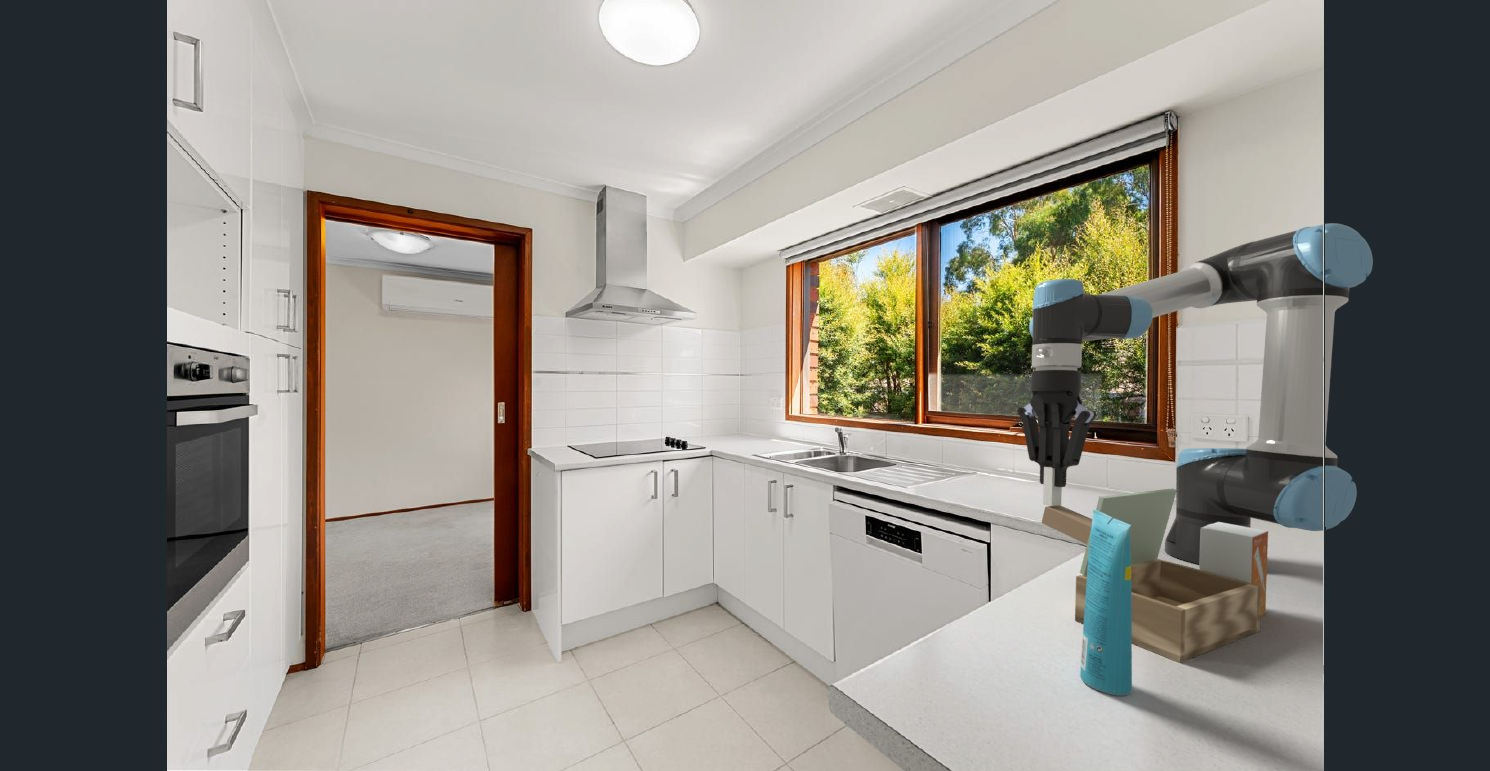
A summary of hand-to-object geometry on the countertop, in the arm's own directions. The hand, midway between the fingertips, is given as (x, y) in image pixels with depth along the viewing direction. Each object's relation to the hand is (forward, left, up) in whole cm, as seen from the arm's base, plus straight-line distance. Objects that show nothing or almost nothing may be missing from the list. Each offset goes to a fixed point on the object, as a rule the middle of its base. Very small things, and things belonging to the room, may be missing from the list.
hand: (1052, 504), depth 92 cm
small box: (-16, +19, -14) cm, 29 cm away
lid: (0, +13, -1) cm, 13 cm away
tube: (+25, +23, -14) cm, 37 cm away
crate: (0, +17, -14) cm, 22 cm away
